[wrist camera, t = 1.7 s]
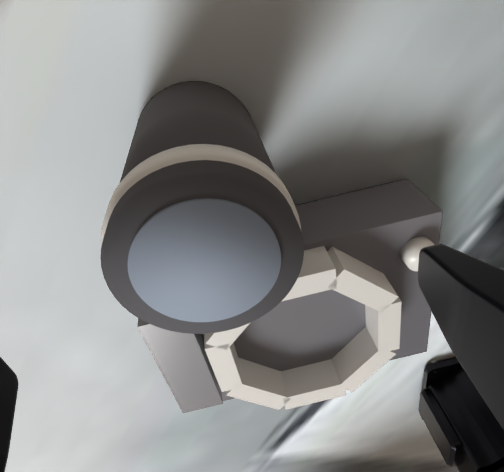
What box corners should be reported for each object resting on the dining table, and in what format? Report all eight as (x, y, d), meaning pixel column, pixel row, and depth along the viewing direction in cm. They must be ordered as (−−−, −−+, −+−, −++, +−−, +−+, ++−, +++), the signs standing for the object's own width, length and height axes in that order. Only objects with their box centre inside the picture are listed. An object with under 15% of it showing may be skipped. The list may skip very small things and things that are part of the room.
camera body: (407, 178, 18) (464, 231, 15) (401, 311, 24) (441, 375, 20) (135, 243, 18) (123, 313, 15) (189, 362, 23) (190, 436, 20)
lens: (244, 64, 15) (296, 145, 8) (266, 182, 17) (318, 315, 11) (112, 95, 15) (53, 203, 8) (156, 208, 17) (140, 358, 11)
